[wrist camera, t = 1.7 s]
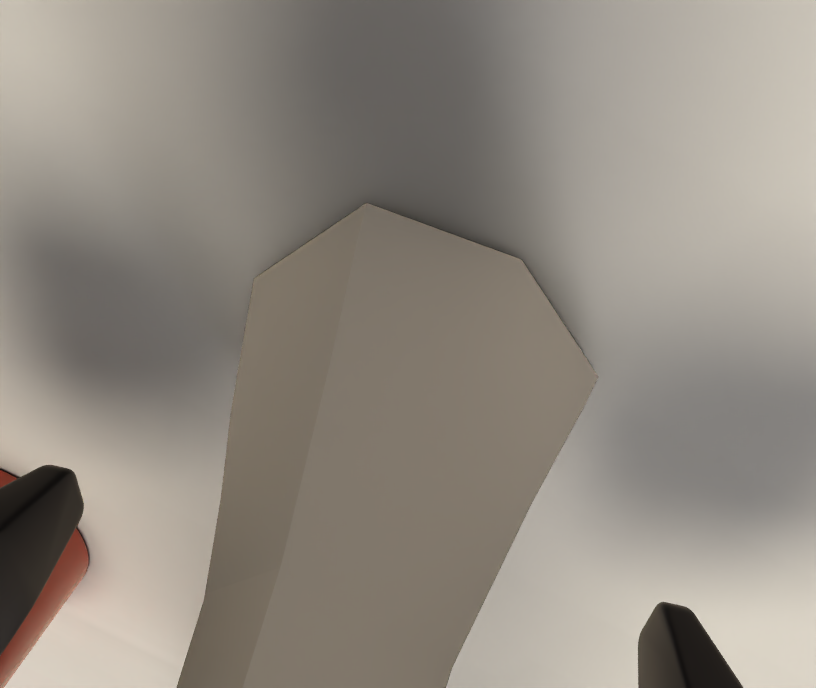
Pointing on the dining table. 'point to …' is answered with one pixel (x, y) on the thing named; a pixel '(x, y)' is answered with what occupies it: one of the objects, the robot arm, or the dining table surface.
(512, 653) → the dining table surface
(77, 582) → the tin can
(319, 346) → the flask
